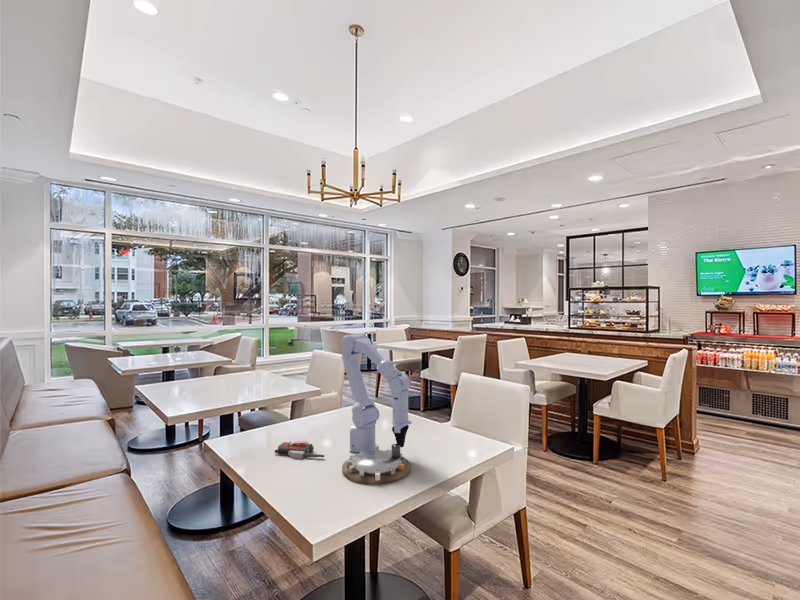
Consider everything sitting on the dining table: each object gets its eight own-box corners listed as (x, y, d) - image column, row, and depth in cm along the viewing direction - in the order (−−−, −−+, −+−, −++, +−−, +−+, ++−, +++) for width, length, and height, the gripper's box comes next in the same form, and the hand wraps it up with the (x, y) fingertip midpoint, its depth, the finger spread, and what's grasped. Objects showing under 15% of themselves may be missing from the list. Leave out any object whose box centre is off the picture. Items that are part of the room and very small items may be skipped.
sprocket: (339, 475, 127) (339, 457, 127) (356, 451, 146) (356, 436, 146) (400, 479, 124) (400, 461, 124) (409, 454, 143) (409, 439, 143)
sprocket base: (332, 481, 126) (332, 472, 126) (353, 453, 148) (353, 445, 148) (404, 487, 122) (404, 477, 122) (414, 457, 144) (414, 449, 144)
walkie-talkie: (271, 457, 146) (323, 461, 142) (271, 445, 146) (323, 449, 142) (282, 448, 155) (331, 452, 151) (282, 437, 155) (331, 440, 151)
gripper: (408, 415, 136) (408, 454, 136) (414, 404, 151) (414, 440, 151) (388, 414, 138) (388, 453, 138) (395, 403, 152) (395, 439, 152)
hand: (400, 446), depth 144 cm, fingers closed
